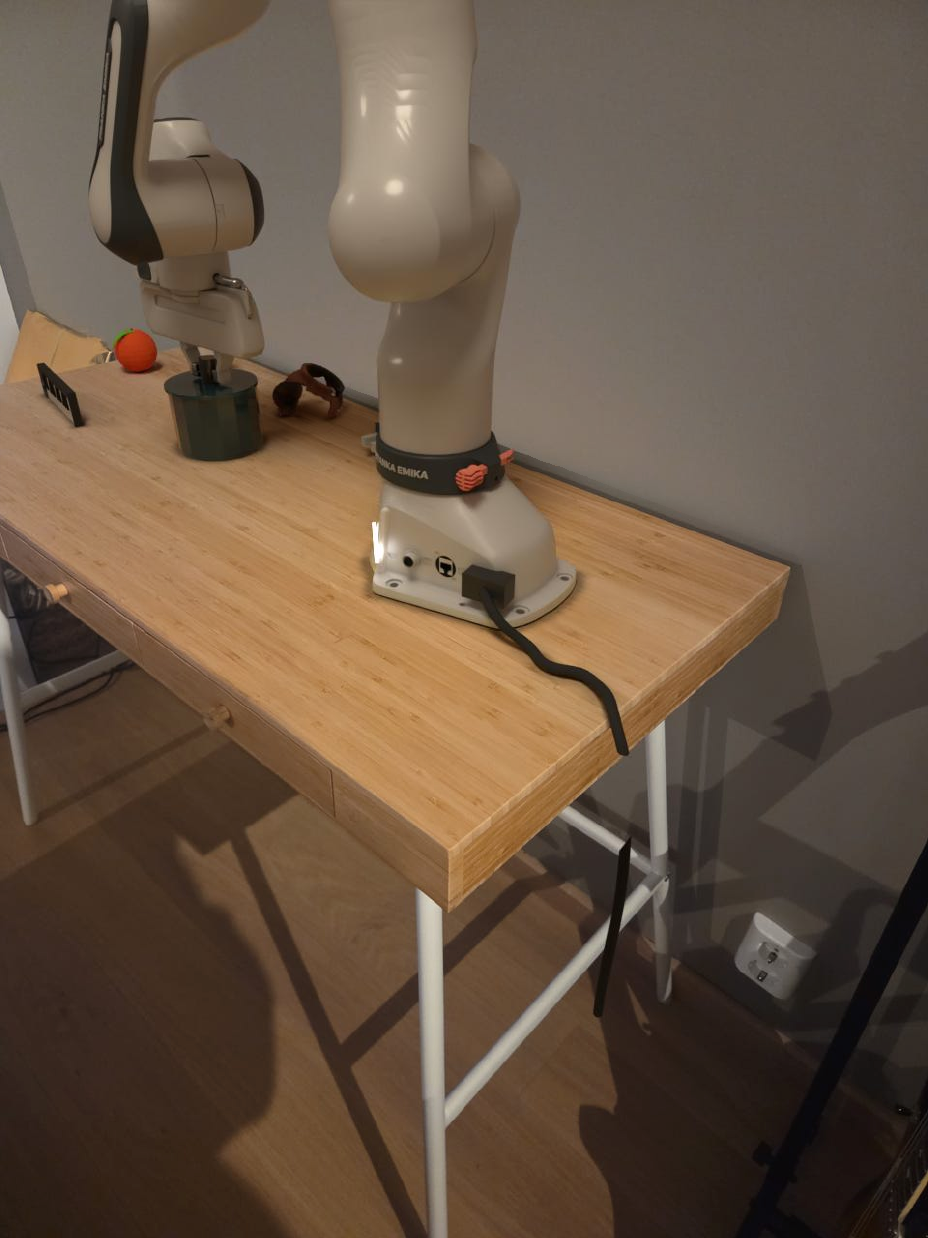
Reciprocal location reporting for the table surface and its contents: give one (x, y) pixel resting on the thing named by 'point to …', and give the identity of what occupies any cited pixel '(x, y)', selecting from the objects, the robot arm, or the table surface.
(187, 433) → the tin
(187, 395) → the lid
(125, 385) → the table surface
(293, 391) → the brown arched strap
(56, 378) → the midi keyboard
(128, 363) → the clementine
